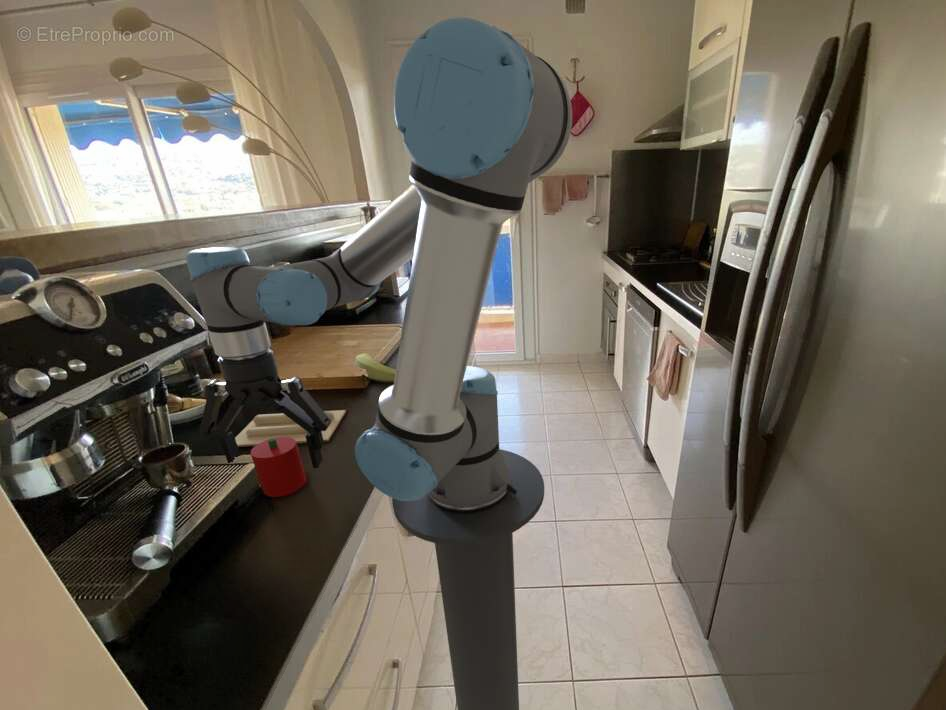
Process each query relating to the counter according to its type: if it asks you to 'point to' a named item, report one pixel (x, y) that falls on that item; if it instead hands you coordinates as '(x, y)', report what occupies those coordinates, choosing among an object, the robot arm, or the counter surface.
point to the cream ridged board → (282, 428)
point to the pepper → (279, 466)
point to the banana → (375, 369)
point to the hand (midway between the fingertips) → (278, 466)
